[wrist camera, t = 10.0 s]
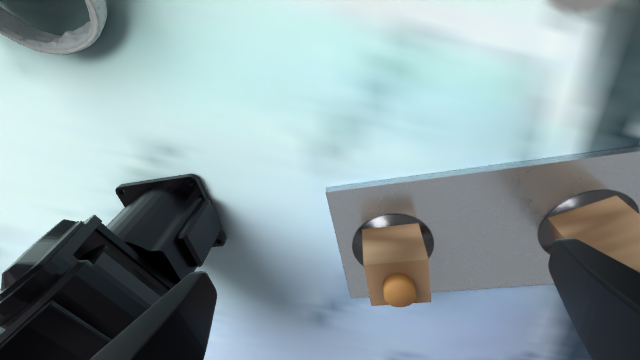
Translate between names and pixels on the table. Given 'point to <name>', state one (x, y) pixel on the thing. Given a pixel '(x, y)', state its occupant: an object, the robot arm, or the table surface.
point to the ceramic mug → (50, 42)
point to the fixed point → (396, 265)
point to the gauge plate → (482, 215)
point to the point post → (603, 229)
